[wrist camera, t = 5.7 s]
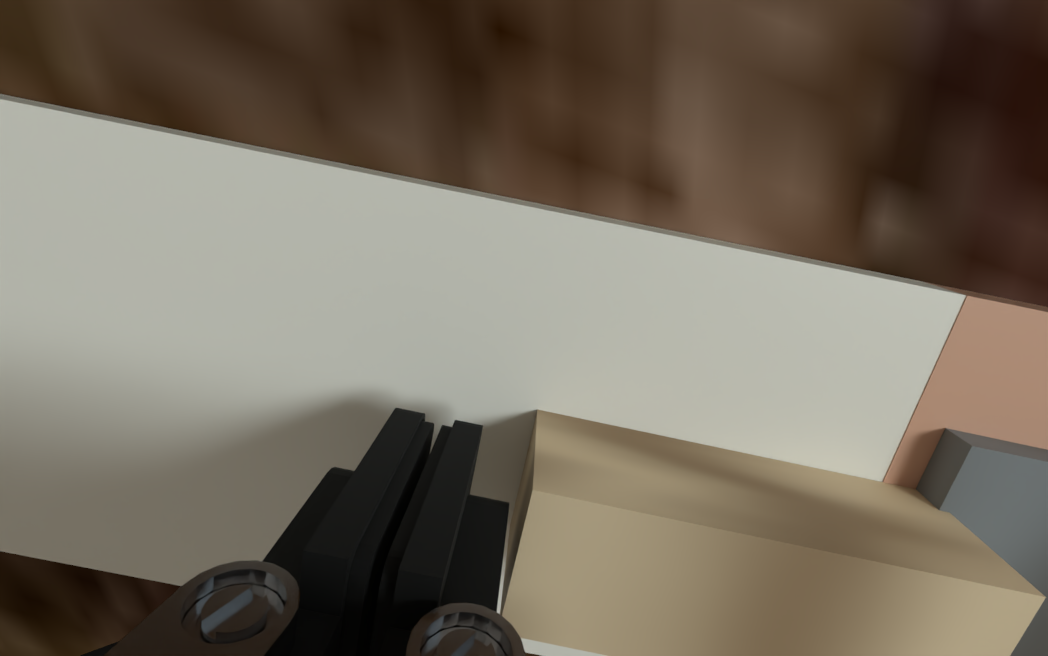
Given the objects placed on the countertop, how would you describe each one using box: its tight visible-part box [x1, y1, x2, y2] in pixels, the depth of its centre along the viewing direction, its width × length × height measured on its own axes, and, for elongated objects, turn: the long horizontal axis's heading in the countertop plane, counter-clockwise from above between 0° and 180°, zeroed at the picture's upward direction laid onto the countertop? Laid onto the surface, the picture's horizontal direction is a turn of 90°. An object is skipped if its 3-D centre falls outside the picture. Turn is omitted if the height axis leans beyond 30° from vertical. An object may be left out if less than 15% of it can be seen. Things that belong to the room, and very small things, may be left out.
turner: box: [500, 409, 1048, 656], centre depth 10 cm, size 14×6×3 cm, turn 78°
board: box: [0, 94, 1048, 656], centre depth 12 cm, size 10×28×1 cm, turn 79°
